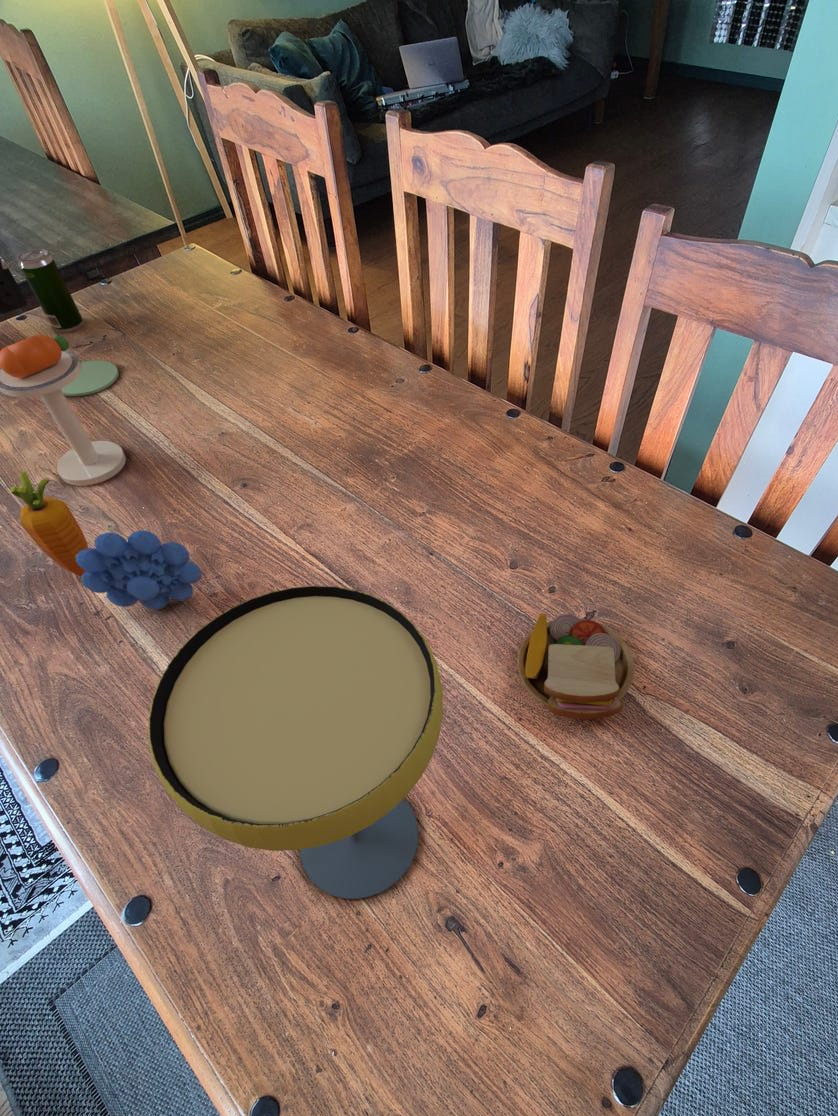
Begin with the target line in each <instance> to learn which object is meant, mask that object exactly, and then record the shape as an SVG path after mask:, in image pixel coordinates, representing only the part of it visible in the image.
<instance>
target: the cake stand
mask: <svg viewBox="0 0 838 1116" xmlns="http://www.w3.org/2000/svg"><path fill="white" fill-rule="evenodd" d="M61 352H62V356H61V359H60V361H59V362H58V363H56V364H55V365H53V366H50V367H48V368H46V369H43V370H41V371H39V372H36V373H34V374H32V375H29V376H27V377H24V378H16V377H12V376H10V375H8V374H7V373H5V372H4V371H3V370H2V369H1V367H0V392H1V393H2V394H3V395H5V396H7V397H11V398H12V397H13V398H23V399H24V398H34V397H39V396H40V398H41V400H42V402H43V403H44V405H45V407H46V409H47V410H48V412H49V414H50V415H51V417H52V418H53V420H54V422H55V424H56V425H57V426H58V429H59V431H60V432H61V433H62V435H63V437H64V438H65V440H66V441H67V443H68V445H69V447H70V450H68V451H66V452H65V453H64V454H63V455H62V456H61V457H60V458H59V460H58V461H57V463H56V472H57V474H58V475H59V477H60V478H61V480H62V481H63V482H64V483H66V484H68V485H72V486H78V487H87V486H93V485H97V484H100V483H102V482H105V481H108V480H110V479H111V478H113V477H114V476H116V475H117V474H119V473H120V472H121V470H122V469H123V468H124V467H125V464H126V460H127V457H126V454H125V452H124V450H123V448H122V447H121V446H120V445H119V444H117V443H116V442H114V441H108V440H95V441H94V440H93V441H91V439H90V438H89V436H88V433H87V432H86V431H85V430H84V427H83V426H82V424H81V422H80V420H79V418H78V417H77V415H76V413H75V411H74V410H73V408H72V406H71V405H70V403H69V401H68V400H67V398H66V395H64V394H63V392H62V391H61V388H63V387H65V386H66V385H68V384H70V383H71V382H72V381H74V380H75V379H76V378H77V377H78V375H79V374H80V372H81V368H82V366H81V361H80V359H79V357H78V355H77V354H76V353H75V352H74V351H72V350H71V349H69V348H68V349H67V350H66V351H61Z"/></svg>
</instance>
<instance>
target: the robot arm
mask: <svg viewBox="0 0 838 1116" xmlns="http://www.w3.org/2000/svg"><path fill="white" fill-rule="evenodd" d="M27 305H28V301H27V299H26V297H25V295H24V293H23V291H22V290H21V288H20V286H19V285H18V283H17V281H16V279H15V277H14V275H13V273H12V272H11V269H10V268H9V267H8V265H7V263H6V261H5V260H4V259H3V258H2V256H1V255H0V314H1V315H5V314H8V313H10V312H14V311H16V310H18V309H20V308H23V307H26V306H27Z"/></svg>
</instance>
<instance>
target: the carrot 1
mask: <svg viewBox="0 0 838 1116" xmlns="http://www.w3.org/2000/svg"><path fill="white" fill-rule="evenodd" d="M69 347H70V344H69V340H68V339H67V338H66V337H64V336H63V335H55V336H54V337H52V336H50V335H46V334H42V333H40V334H35V335H32V336H29V337H27V338H24V339H22V340H20V341H17V342H15V343H12V344H10V345H7V346H5V347H3V348H1V350H0V367H1V369H2V370H3V371H4V372H5V373H7V374H8V375H10V376H12V377H16V378H24V377H27V376H29V375H32V374H34V373H36V372H39V371H41V370H43V369H46V368H48V367H50V366H53V365H55V364H56V363H58V362H59V361H60V359H61V356H62V352H61V351H66V350H67V349H68V350H69Z"/></svg>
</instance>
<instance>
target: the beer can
mask: <svg viewBox="0 0 838 1116" xmlns="http://www.w3.org/2000/svg"><path fill="white" fill-rule="evenodd" d="M16 260H17V262H18V267H19V269H20V271H21V272H22V275H23V276H24V278H25V280H26V282H27V283H28V285H29V287H30V289H31V291H32V293H33V295H34V296H35V298H36V300H37V302H38V304H39V306H40V307H41V309H42V311H43V313H44V315H45V317H46V318H47V320H48V322H49V324H50V326H51V328H52V329H53V330H55V332H56V333H61V334H67V333H72V332H75V331H77V330H79V329H81V328H82V327H83V326H84V319H83V317H82V315H81V312H80V309H79V308H78V306H77V304H76V302H75V300H74V298H73V296H72V294H71V292H70V290H69V288H68V285H67V284H66V282H65V280H64V278H63V276H62V274H61V271H60V270H59V268H58V266H57V264H56V262H55V260H54V258H53V256H51V254H50V253H49V252H48V250H47V249H44V248H34V249H29V250H25V251H23V252H20V253H19V254H18V255H17V256H16Z"/></svg>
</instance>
